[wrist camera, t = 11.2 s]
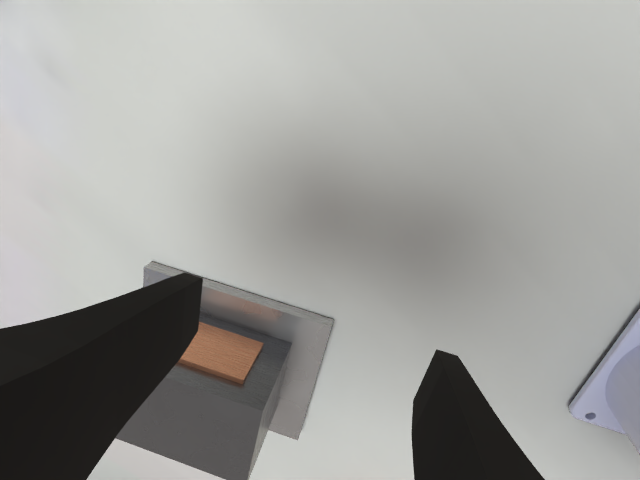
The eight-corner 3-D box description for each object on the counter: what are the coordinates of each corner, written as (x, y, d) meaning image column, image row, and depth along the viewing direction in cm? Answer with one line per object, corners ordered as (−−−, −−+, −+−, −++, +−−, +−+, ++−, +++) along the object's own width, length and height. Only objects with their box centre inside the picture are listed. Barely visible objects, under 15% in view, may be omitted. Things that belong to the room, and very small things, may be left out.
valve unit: (333, 319, 22) (311, 395, 16) (300, 430, 26) (274, 520, 21) (146, 259, 23) (67, 312, 18) (143, 374, 27) (78, 446, 22)
